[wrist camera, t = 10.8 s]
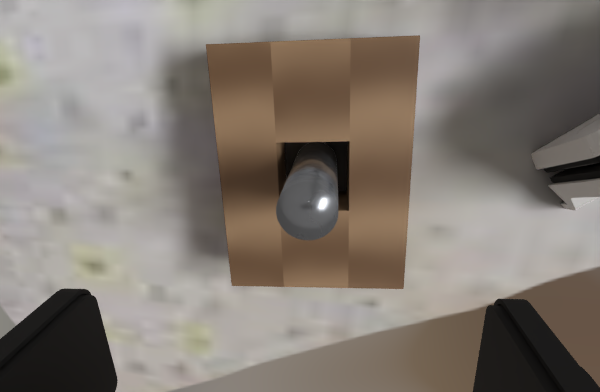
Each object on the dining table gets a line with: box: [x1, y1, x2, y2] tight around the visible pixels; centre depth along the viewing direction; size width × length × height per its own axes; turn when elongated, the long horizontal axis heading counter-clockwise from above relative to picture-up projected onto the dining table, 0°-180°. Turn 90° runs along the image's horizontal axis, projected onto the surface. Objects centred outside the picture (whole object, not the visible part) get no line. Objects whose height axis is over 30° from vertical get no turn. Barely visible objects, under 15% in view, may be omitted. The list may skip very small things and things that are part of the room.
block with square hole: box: [206, 36, 420, 289], centre depth 25 cm, size 16×12×4 cm
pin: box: [276, 142, 339, 240], centre depth 23 cm, size 3×3×10 cm
